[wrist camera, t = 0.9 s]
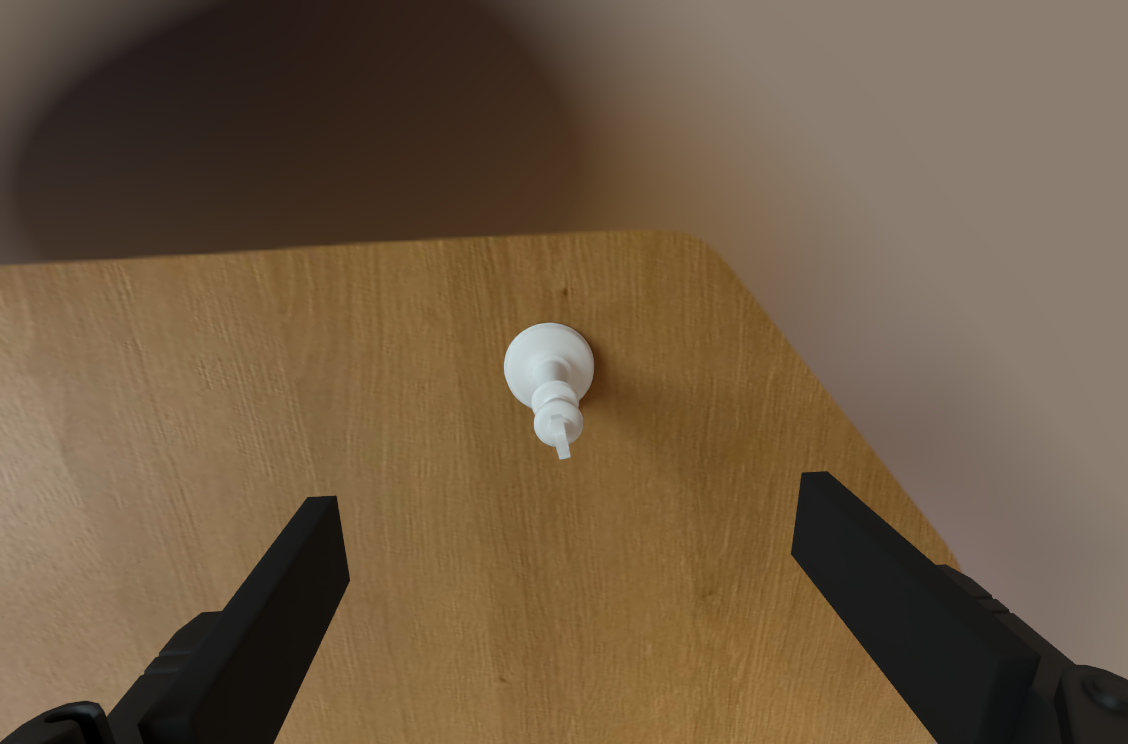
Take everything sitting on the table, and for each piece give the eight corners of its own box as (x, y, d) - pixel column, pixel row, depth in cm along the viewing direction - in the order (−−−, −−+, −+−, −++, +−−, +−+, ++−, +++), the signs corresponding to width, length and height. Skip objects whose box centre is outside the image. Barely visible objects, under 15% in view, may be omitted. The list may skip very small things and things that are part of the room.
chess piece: (585, 314, 28) (617, 370, 19) (600, 398, 30) (637, 490, 20) (494, 332, 28) (480, 398, 19) (514, 416, 30) (511, 516, 20)
